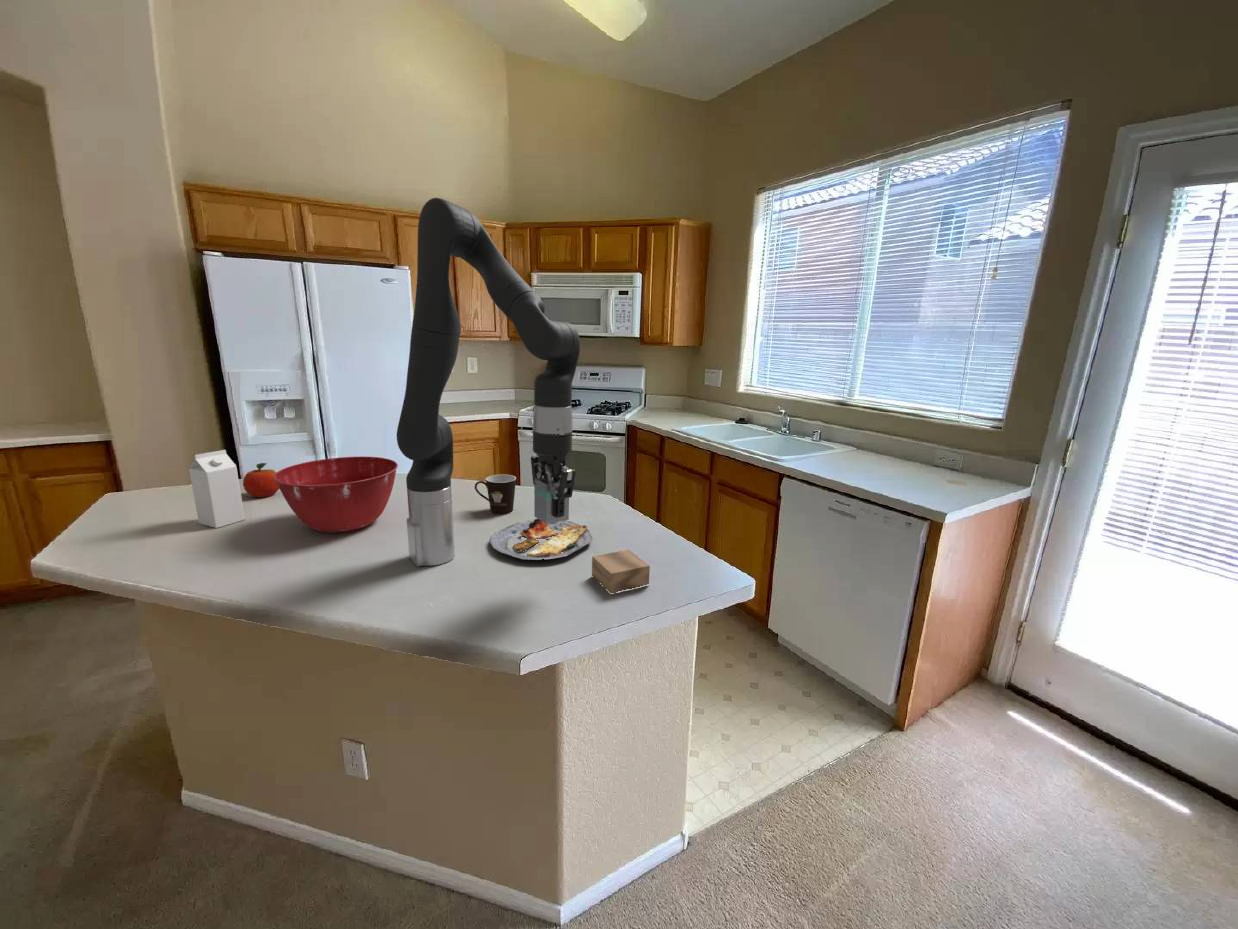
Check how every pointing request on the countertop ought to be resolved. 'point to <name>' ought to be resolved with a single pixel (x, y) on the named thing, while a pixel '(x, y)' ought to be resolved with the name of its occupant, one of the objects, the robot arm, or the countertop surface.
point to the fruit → (260, 482)
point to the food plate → (536, 529)
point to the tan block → (620, 571)
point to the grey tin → (547, 502)
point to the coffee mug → (500, 493)
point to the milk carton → (216, 489)
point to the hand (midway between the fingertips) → (551, 512)
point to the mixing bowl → (338, 491)
